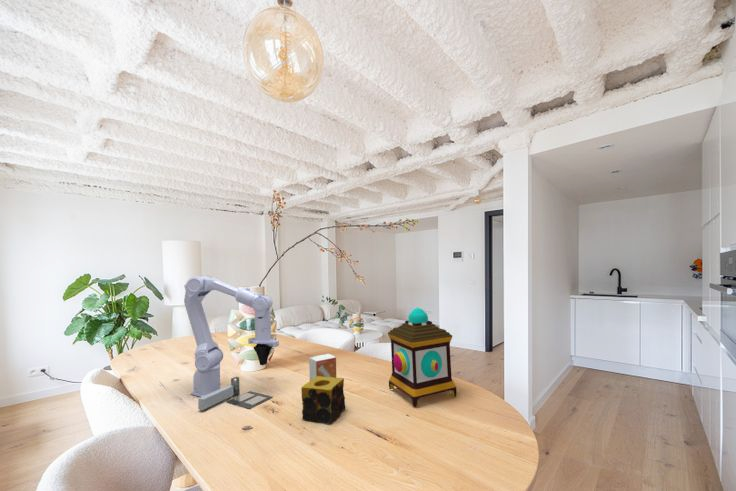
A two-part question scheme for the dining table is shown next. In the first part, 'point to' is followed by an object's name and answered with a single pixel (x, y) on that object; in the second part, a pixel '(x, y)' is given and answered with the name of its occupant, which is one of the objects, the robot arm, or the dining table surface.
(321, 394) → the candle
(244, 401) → the label panel
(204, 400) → the gray rectangular box
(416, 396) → the decorative lantern
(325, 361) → the small box
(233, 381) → the post
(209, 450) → the dining table surface
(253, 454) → the dining table surface
